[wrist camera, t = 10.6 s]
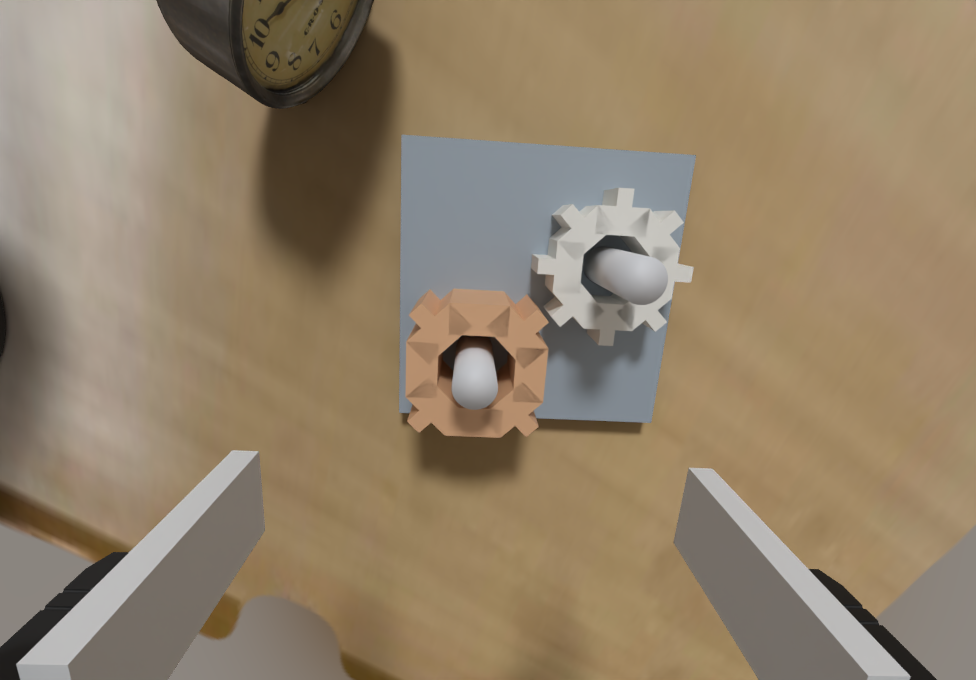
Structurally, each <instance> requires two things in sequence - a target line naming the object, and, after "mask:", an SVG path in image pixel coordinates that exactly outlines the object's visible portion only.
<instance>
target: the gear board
mask: <svg viewBox="0 0 976 680" xmlns="http://www.w3.org/2000/svg"><path fill="white" fill-rule="evenodd" d="M695 158H696V155H684V154H670V153H656V152H641V151H627V150H613V149H598V148H584V147H569V146H555V145H541V144H526V143H512V142H498V141H483V140H469V139H455V138H440V137H426V136H411V135H402V153H401V271H400V389H399V413H410V411H411V407H412V403H411V402H410V401H409V400H408V399H407V398H406V397H405V392H406V341H407V339H408V337H409V335H410V333H411V332H412V330H413V328H414V326H415V324H416V322H415V321H414V320H413V319H412V318H411V317H410V316H409V314H410V312H411V311H412V309H413V308H414V306H415V304H416V303H417V301H418V300H419V299H420V298H421V297H422V296H423V295H424V294H425V293H426V292H427V291H428V290H429V289H431V291H432V292H433V293H434V294H435V295H436V296H437V297H438V298H439V299H440V300H441V299H442V298H444V297H445V296H446V295H447V294H448V293H449V292H450V291H451V290H452V289H472V290H490V291H504V292H505V293H506V294H507V295H508V296H509V297H510V299H511V300H512V301H513V302H514V303H515V304H516V303H517V302H519V301H520V300H521V299H522V298H523V297H524V296H525V295H528V296H529V297H530V298H531V299H532V301H533V302H534V303H535V304H536V305H537V306H538V308H539V309H540V311H541V312H542V313H543V315H544V316H545V318H546V319H547V320H548V322H549V323H548V324H547V325H545V326H544V327H543V328H542V329H541V330H539V333H540V335H541V337H542V338H543V340H544V342H545V344H546V345H547V347H548V358H547V368H546V378H545V388H544V398H543V403H542V404H541V405H540V406H539V407H537V408H536V409H535V410H534V413H535V416H536V418H544V419H569V420H594V421H619V422H644V423H651V420H652V414H653V408H654V402H655V396H656V390H657V384H658V378H659V372H660V366H661V360H662V354H663V348H664V342H665V337H666V331H667V325H668V319H669V313H670V307H671V301H672V295H673V289H674V283H675V282H691V279H692V273H693V268H694V267H691V266H686V265H682V264H678V259H679V253H680V247H681V241H682V235H683V229H684V223H685V217H686V211H687V205H688V200H689V194H690V188H691V182H692V176H693V170H694V164H695ZM507 356H508V351H507V350H506V349H505V348H504V347H503V345H502V344H501V343H500V342H499V341H498V340H497V339H496V338H495V337H489V336H469V335H462V336H461V337H459V338H458V339H457V340H456V341H455V342H454V343H453V344H451V345H450V346H449V347H448V348H447V349H446V350H445V351H443V361H444V362H445V363H446V364H447V365H448V366H449V367H450V368H451V369H452V370H453V371H454V372H453V380H452V394H453V397H454V399H455V400H456V401H457V403H459V404H460V405H461V406H463V407H464V408H467V409H471V410H478V409H482V408H485V407H487V406H488V405H490V404H491V403H492V402H493V401H494V399H495V398H496V396H497V392H498V383H497V377H496V372H497V371H498V370H499V369H500V368H501V367H502V366H504V365H505V364H506V363H507Z"/></svg>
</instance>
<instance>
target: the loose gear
mask: <svg viewBox="0 0 976 680" xmlns="http://www.w3.org/2000/svg"><path fill="white" fill-rule="evenodd" d="M409 316H410V317H411V318H412V319H413V320H414V321H415V322H416V324H415V326H414V328H413V330H412V332H411V333H410V335H409V337H408V339H407V341H406V392H405V397H406V398H407V399H408V400H409V401H410V402H411V403H412V407H411V411H410V414H409V417H408V420H407V422H408V423H409V424H410V425H411V426H412V427H413V428H414V429H415V430H416V431H418V432H421V431H422V430H423V429H424V428H425V427H426V426H428V425H429V424H430V423H432V424H433V425H434V426H436V427H437V428H438V429H439V430H440V431H441V432H442V433H443V434H444V435H445V436H468V437H494V438H501V437H502V436H503V435H504V434H506V433H507V432H508V431H509V430H510V429H512V428H513V427H514V426H516V427H517V428H518V429H519V430H520V431H521V432H522V433H523V434H524V435H525V437H527V436H528V435H529V434H530V433H532V432H533V431H534V430H535V429H537V428H538V427H539V426H538V423H537V419H536V416H535V413H534V410H535V409H536V408H537V407H539V406H540V405H541V404H542V403H543V398H544V388H545V378H546V368H547V358H548V347H547V345H546V344H545V342H544V340H543V338H542V337H541V335H540V333H539V330H541V329H542V328H543V327H544V326H545V325H547V324H548V323H549V322H548V320H547V319H546V318H545V316H544V315H543V313H542V312H541V311H540V309H539V308H538V306H537V305H536V304H535V303H534V302H533V301H532V299H531V298H530V297H529V296H528V295H525V296H524V297H523V298H522V299H521V300H520V301H519V302H517V303H516V304H515V303H514V302H513V301H512V300H511V299H510V297H509V296H508V295H507V294H506V293H505V292H504V291H490V290H472V289H452V290H451V291H450V292H449V293H448V294H447V295H446V296H445V297H444V298H442V299H441V300H440V299H439V298H438V297H437V296H436V295H435V294H434V293H433V292H432V291H431V289H429V290H428V291H427V292H426V293H425V294H424V295H423V296H422V297H421V298H420V299H419V300H418V301H417V303H416V304H415V306H414V308H413V309H412V311H411V312H410V314H409ZM462 335H469V336H489V337H495V338H496V339H497V340H498V341H499V342H500V343H501V344H502V345H503V347H504V348H505V349H506V350H507V351H508V356H507V363H506V364H505V365H504V366H502V367H501V368H500V369H499V370H498V371H497V372H496V377H497V383H498V392H497V396H496V398H495V399H494V401H493V402H492V403H491V404H490V405H488V406H487V407H485V408H482V409H478V410H471V409H467V408H464V407H463V406H461V405H460V404H459V403H457V401H456V400H455V399H454V397H453V394H452V380H453V372H454V371H453V370H452V369H451V368H450V367H449V366H448V365H447V364H446V363H445V362H444V361H443V351H445V350H446V349H447V348H448V347H449V346H450V345H451V344H453V343H454V342H455V341H456V340H457V339H458V338H459V337H461V336H462Z"/></svg>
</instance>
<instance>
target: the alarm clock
mask: <svg viewBox="0 0 976 680" xmlns="http://www.w3.org/2000/svg"><path fill="white" fill-rule="evenodd" d="M156 1H157V3H158V6H159V8H160V10H161V13H162V15H163V17H164V19H165V21H166V23H167V24H168V26H169V28H170V30H171V31H172V33H173V34H174V36H175V37H176V38H177V40H178V41H179V43H180V44H181V45H182V46H183V47H184V48H185V49H186V50H187V51H188V52H189V53H190V54H191V55H192V56H193V57H195V58H196V59H197V60H199V61H200V62H201V63H203V64H204V65H206V66H207V67H209V68H210V69H212V70H213V71H215V72H216V73H218V74H219V75H221V76H222V77H224V78H225V79H227V80H228V81H230V82H231V83H232V84H234V85H235V86H237V87H238V88H240V89H241V90H243V91H244V92H246V93H247V94H248V95H250V96H251V97H253V98H254V99H256V100H257V101H258V102H260V103H262V104H264V105H265V106H268V107H272V108H279V109H282V108H289V107H293V106H297V105H299V104H302V103H306V102H307V100H309V99H310V98H312V97H313V96H315V95H316V94H318V93H319V92H320V91H321V90H322V89H323V88H324V87H325V86H326V85H327V84H328V83H329V82H330V81H331V80H332V79H333V77H334V76H335V75H336V74H337V73H338V72H339V70H340V69H341V68H342V66H343V65H344V63H345V62H346V60H347V59H348V57H349V55H350V54H351V52H352V50H353V48H354V47H355V45H356V43H357V41H358V39H359V37H360V35H361V32H362V30H363V28H364V26H365V24H366V21H367V19H368V16H369V13H370V10H371V7H372V4H373V1H374V0H156Z"/></svg>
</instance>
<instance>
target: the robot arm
mask: <svg viewBox="0 0 976 680" xmlns="http://www.w3.org/2000/svg"><path fill="white" fill-rule="evenodd" d="M4 340H5V314H4V309H3V304H2V300H1V297H0V356H1V353H2V350H3V346H4ZM264 531H265V522H264V509H263V496H262V483H261V470H260V457H259V451H236V450H232V451H231V452H230V453H229V454H228V455H227V456H226V457H225V458H224V459H223V460H222V461H221V462H220V463H219V464H218V465H217V466H216V467H215V468H214V469H213V470H212V471H211V472H210V473H209V474H208V475H207V476H206V477H205V478H204V479H203V480H202V481H201V482H200V483H199V484H198V485H197V486H196V487H195V488H194V489H193V490H192V491H191V492H190V493H189V494H188V495H187V496H186V497H185V498H184V499H183V500H182V501H181V502H180V503H179V504H178V505H177V506H176V507H175V508H174V509H173V510H172V511H171V512H170V513H169V514H168V515H167V516H166V517H165V518H164V519H163V520H162V521H161V522H160V523H159V524H158V525H157V526H156V527H155V528H154V529H153V530H152V531H151V532H150V533H148V534H147V535H146V536H145V537H144V538H143V539H142V540H141V541H140V542H139V543H138V544H137V545H136V546H135V547H134V548H133V549H132V550H131V551H130V552H129V553H127V552H113V553H111V554H110V555H108V556H106V557H105V558H103V559H101V560H100V561H98V562H96V563H95V564H93V565H91V566H90V567H88V568H86V569H85V570H84V571H83V572H82V573H81V574H80V575H78V576H77V577H76V578H75V579H74V580H73V581H72V582H71V583H70V584H69V585H68V586H67V587H65V589H64V591H63V593H59V594H58V595H57V596H56V597H55V598H53V599H52V600H51V601H50V602H49V603H48V604H47V605H46V606H45V609H44V610H42V611H40V612H38V613H37V614H36V615H35V616H34V617H33V618H32V619H31V620H30V621H28V622H27V623H26V624H25V625H24V626H23V627H22V628H21V629H20V630H19V631H18V632H16V633H15V634H14V635H13V636H12V637H11V638H10V639H9V640H8V641H7V642H6V643H4V644H3V645H2V646H1V647H0V680H168V678H169V677H170V675H171V674H172V672H173V670H174V669H175V668H176V666H177V665H178V663H179V662H180V660H181V658H182V657H183V655H184V654H185V652H186V651H187V649H188V648H189V646H190V645H191V643H192V642H193V640H194V639H195V637H196V635H197V634H198V632H199V631H200V629H201V628H202V626H203V625H204V623H205V622H206V620H207V619H208V617H209V616H210V614H211V613H212V611H213V609H214V608H215V606H216V605H217V603H218V602H219V600H220V599H221V597H222V596H223V594H224V593H225V591H226V590H227V588H228V586H229V585H230V583H231V582H232V580H233V579H234V577H235V576H236V574H237V573H238V571H239V570H240V568H241V567H242V565H243V563H244V562H245V560H246V559H247V557H248V556H249V554H250V553H251V551H252V550H253V548H254V547H255V545H256V544H257V542H258V540H259V539H260V537H261V536H262V534H263V533H264ZM674 544H675V546H676V547H677V549H678V550H679V552H680V554H681V555H682V557H683V558H684V560H685V562H686V563H687V565H688V566H689V568H690V570H691V571H692V573H693V575H694V576H695V578H696V579H697V581H698V583H699V584H700V586H701V587H702V589H703V591H704V592H705V594H706V595H707V597H708V599H709V600H710V602H711V604H712V605H713V607H714V608H715V610H716V612H717V613H718V615H719V616H720V618H721V620H722V621H723V623H724V624H725V626H726V628H727V629H728V631H729V633H730V634H731V636H732V637H733V639H734V641H735V642H736V644H737V645H738V647H739V649H740V650H741V652H742V654H743V655H744V657H745V658H746V660H747V662H748V663H749V665H750V666H751V668H752V670H753V671H754V673H755V674H756V676H757V678H758V679H759V680H937V679H936V678H935V677H934V676H933V675H932V674H931V673H930V672H929V671H928V670H926V668H925V667H924V666H923V665H922V664H921V663H920V662H919V661H918V660H917V659H916V658H915V657H914V656H912V654H911V653H910V652H909V651H908V650H907V649H906V648H905V647H904V646H903V645H902V644H900V642H899V641H898V640H897V639H896V638H895V637H893V635H891V633H889V631H887V629H886V628H885V627H884V626H881V625H879V623H878V620H877V619H876V618H875V617H874V616H873V615H872V614H870V613H869V612H868V611H867V610H866V609H863V608H862V605H861V604H860V603H859V602H858V601H857V600H856V599H855V598H854V597H853V596H852V595H851V594H850V593H849V592H848V591H847V590H846V589H845V588H844V587H843V586H842V585H841V584H839V583H838V582H836V581H835V580H833V579H832V578H830V577H829V576H827V575H826V574H825V573H823V572H822V571H820V570H819V569H808V568H807V567H806V566H805V565H804V564H803V563H802V562H801V561H800V560H799V559H798V558H797V557H796V556H795V555H794V554H793V553H792V552H791V551H790V549H789V548H788V547H787V546H786V545H785V544H784V543H783V542H782V541H781V540H780V539H779V538H778V537H777V536H776V535H775V534H774V533H773V532H772V531H771V530H770V529H769V527H768V526H767V525H766V524H765V523H764V522H763V521H762V520H761V519H760V518H759V517H758V516H757V515H756V514H755V513H754V512H753V511H752V510H751V509H750V508H749V507H748V505H747V504H746V503H745V502H744V501H743V500H742V499H741V498H740V497H739V496H738V495H737V494H736V493H735V492H734V491H733V490H732V489H731V488H730V487H729V486H728V485H727V483H726V482H725V481H724V480H723V479H722V478H721V477H720V476H719V475H718V474H717V473H716V472H715V471H714V470H713V469H706V468H689V469H688V474H687V479H686V483H685V488H684V493H683V498H682V503H681V508H680V513H679V518H678V523H677V528H676V533H675V537H674Z"/></svg>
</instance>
